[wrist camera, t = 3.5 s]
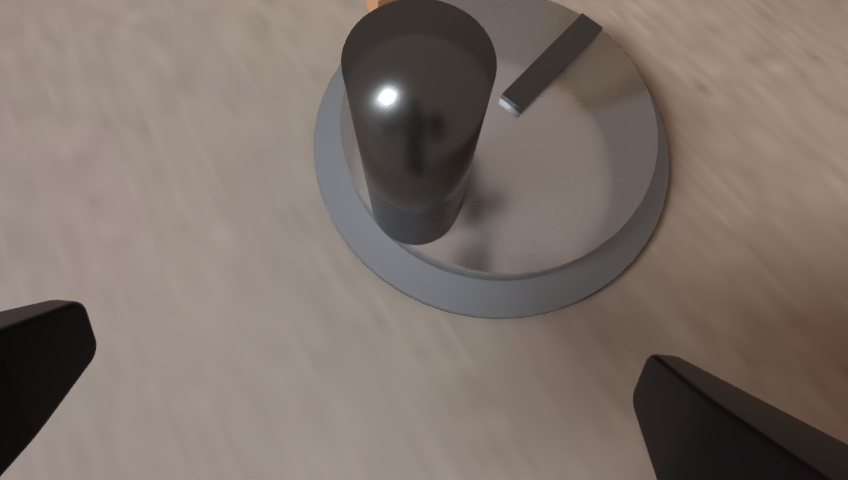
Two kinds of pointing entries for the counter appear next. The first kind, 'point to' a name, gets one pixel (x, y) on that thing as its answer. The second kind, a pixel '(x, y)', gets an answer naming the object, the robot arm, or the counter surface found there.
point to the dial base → (456, 289)
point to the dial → (494, 133)
